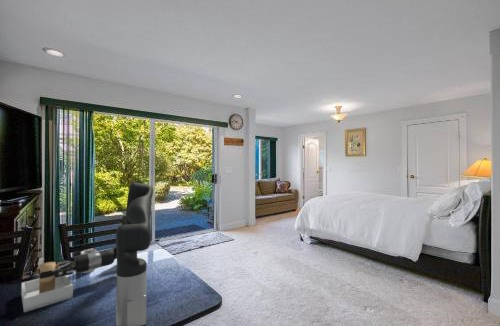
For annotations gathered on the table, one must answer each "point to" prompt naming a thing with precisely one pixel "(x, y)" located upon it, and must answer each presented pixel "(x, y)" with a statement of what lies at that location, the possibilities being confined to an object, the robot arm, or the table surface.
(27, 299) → the tote
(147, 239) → the robot arm
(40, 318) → the table surface
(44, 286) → the wooden cylinder
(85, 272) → the drinking glass
